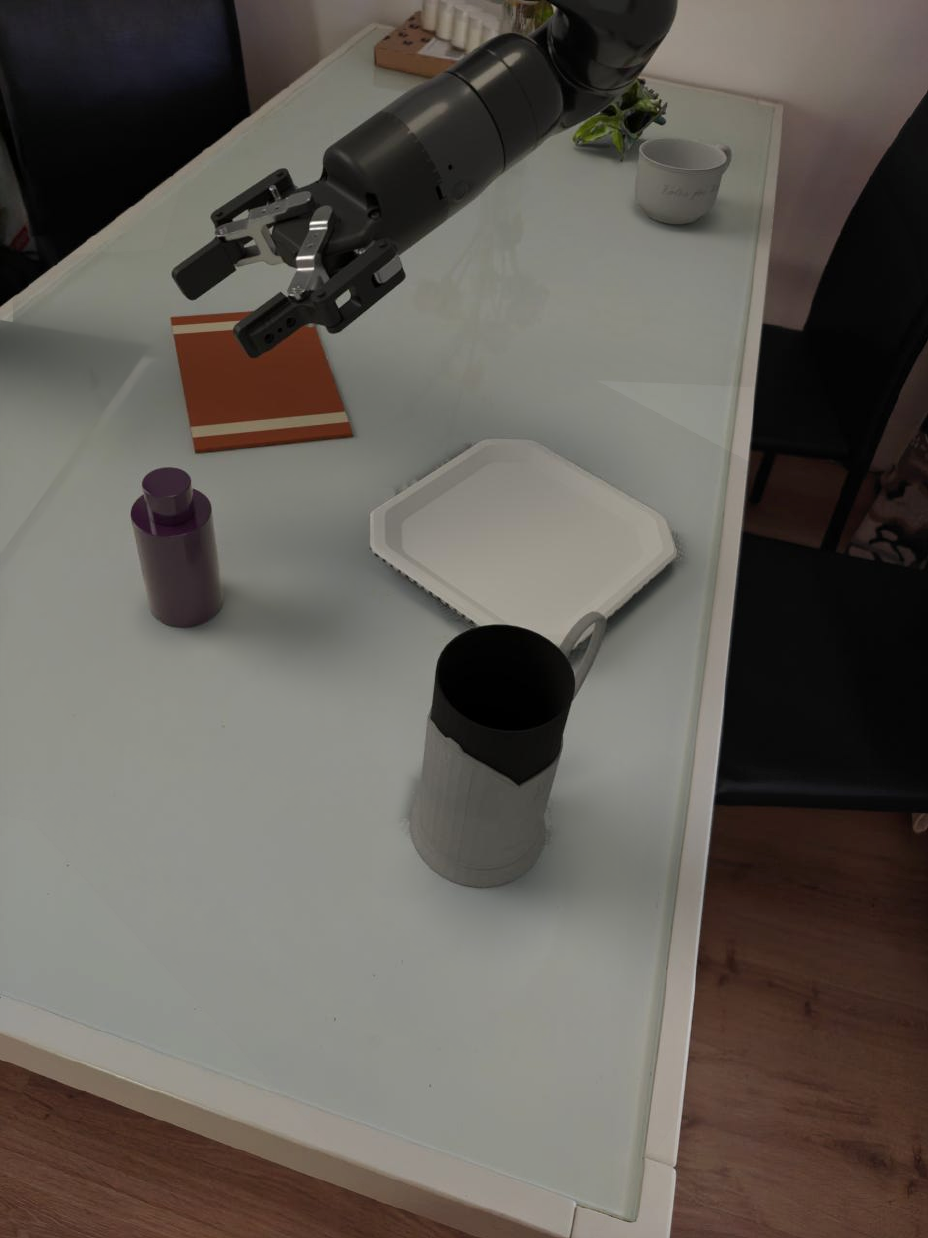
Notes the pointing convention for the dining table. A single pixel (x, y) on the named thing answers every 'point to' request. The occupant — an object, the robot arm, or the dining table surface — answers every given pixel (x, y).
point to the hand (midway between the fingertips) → (209, 315)
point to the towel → (255, 387)
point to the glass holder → (495, 749)
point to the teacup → (679, 177)
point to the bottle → (177, 549)
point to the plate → (521, 539)
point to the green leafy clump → (624, 118)
